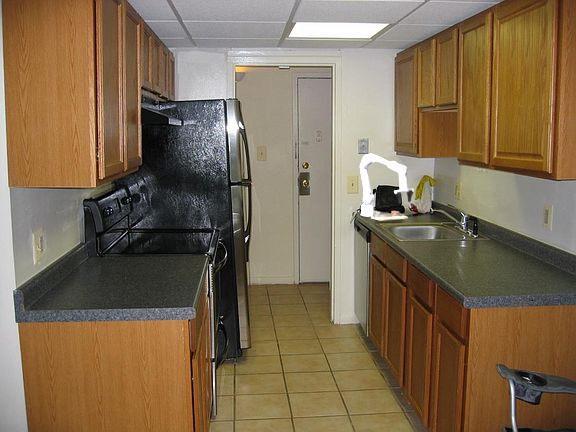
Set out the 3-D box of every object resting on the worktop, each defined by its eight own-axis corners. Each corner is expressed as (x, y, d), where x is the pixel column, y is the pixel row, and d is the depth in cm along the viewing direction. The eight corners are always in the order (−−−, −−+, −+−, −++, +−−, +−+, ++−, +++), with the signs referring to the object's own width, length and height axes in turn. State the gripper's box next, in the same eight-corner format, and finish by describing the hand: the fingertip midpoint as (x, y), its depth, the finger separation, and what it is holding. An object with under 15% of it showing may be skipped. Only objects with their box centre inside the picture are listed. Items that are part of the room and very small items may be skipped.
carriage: (391, 215, 443) (391, 211, 443) (395, 215, 445) (395, 210, 444) (399, 217, 434) (399, 213, 434) (403, 216, 435) (403, 212, 435)
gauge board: (370, 218, 439) (370, 211, 439) (397, 215, 448) (397, 208, 447) (380, 220, 428) (380, 213, 427) (408, 218, 436) (408, 211, 435)
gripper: (397, 184, 433) (399, 204, 434) (415, 182, 438) (416, 201, 440) (392, 184, 439) (393, 203, 441) (409, 182, 445) (411, 201, 446)
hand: (404, 202), depth 441 cm, fingers open, 7 cm apart
